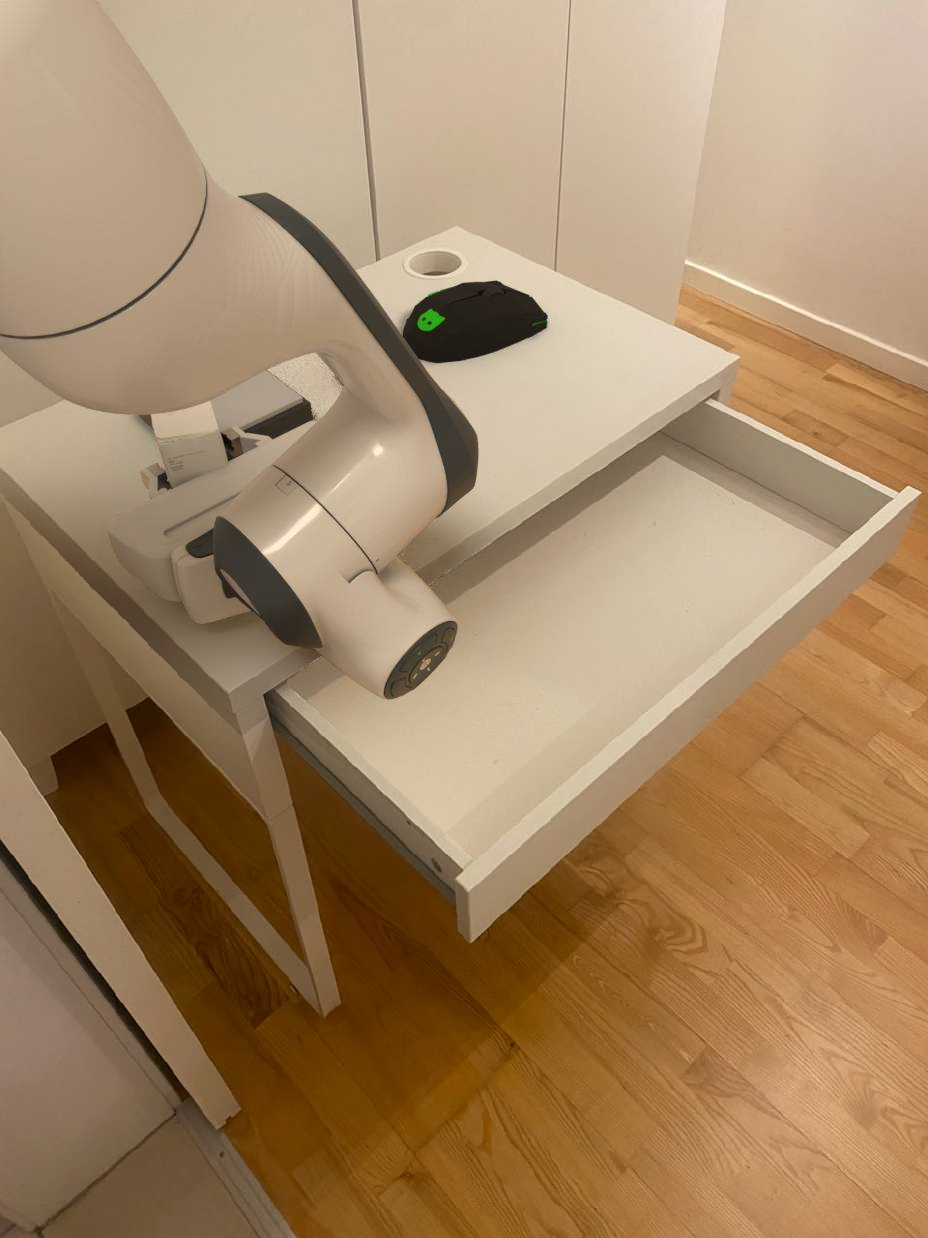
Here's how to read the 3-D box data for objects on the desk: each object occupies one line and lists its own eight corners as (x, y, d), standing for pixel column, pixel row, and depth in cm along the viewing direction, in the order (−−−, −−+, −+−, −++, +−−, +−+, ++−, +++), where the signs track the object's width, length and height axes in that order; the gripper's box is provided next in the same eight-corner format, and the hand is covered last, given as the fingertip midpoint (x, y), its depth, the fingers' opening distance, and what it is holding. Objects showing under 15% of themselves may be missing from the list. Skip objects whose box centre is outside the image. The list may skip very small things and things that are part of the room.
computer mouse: (375, 325, 104) (373, 291, 101) (495, 281, 111) (496, 248, 108) (435, 375, 98) (435, 340, 95) (558, 325, 105) (562, 292, 102)
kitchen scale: (206, 476, 87) (200, 449, 85) (138, 415, 93) (131, 389, 90) (313, 423, 92) (310, 397, 90) (243, 369, 98) (238, 343, 96)
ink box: (249, 542, 81) (223, 429, 72) (190, 556, 80) (156, 443, 71) (229, 479, 87) (203, 367, 78) (174, 492, 85) (140, 379, 77)
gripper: (392, 451, 74) (288, 373, 81) (160, 575, 65) (64, 476, 72) (395, 511, 79) (296, 433, 86) (179, 636, 70) (87, 537, 76)
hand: (189, 454), depth 79 cm, fingers closed on ink box, 6 cm apart
